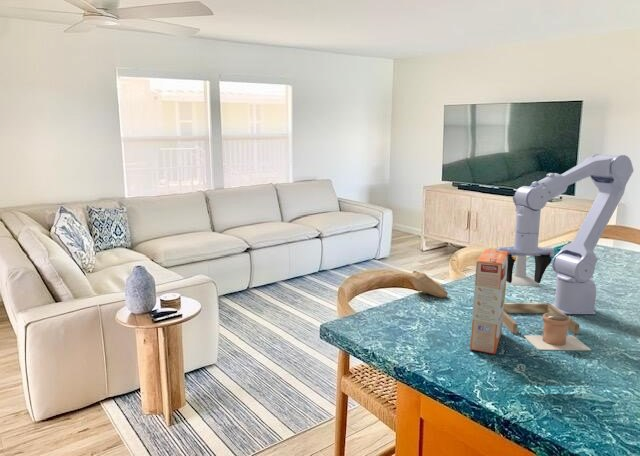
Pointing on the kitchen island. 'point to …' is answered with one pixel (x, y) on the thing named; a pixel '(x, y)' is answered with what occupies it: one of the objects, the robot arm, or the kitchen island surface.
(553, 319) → the terracotta pot
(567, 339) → the potting tile
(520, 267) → the candlestick
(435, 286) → the pottery oil lamp
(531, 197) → the robot arm
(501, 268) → the cracker box
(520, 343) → the kitchen island surface
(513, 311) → the wooden u-shaped frame
